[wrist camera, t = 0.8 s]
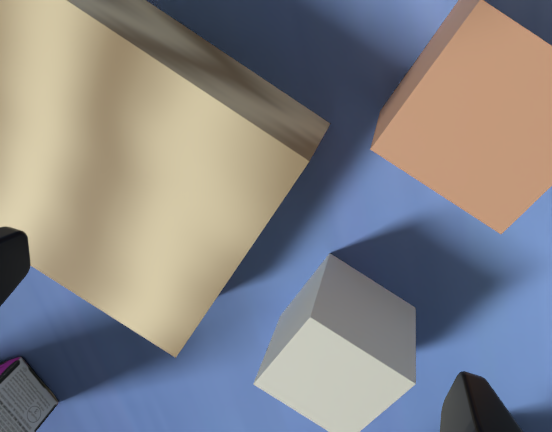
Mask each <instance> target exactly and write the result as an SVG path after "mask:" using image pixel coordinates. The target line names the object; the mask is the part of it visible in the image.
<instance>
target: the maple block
mask: <svg viewBox="0 0 552 432" xmlns="http://www.w3.org/2000/svg"><path fill="white" fill-rule="evenodd" d="M329 126H330V123H329V122H327V121H326V120H324V119H323V118H321V117H320V116H318V115H317V114H315V113H314V112H312V111H311V110H309V109H308V108H306V107H305V106H303V105H302V104H300V103H299V102H297V101H296V100H294V99H293V98H291V97H290V96H288V95H287V94H285V93H284V92H282V91H281V90H279V89H278V88H276V87H275V86H273V85H272V84H270V83H269V82H267V81H266V80H264V79H263V78H261V77H260V76H258V75H257V74H255V73H254V72H252V71H251V70H249V69H248V68H246V67H245V66H243V65H242V64H240V63H239V62H237V61H236V60H234V59H233V58H231V57H230V56H228V55H227V54H225V53H224V52H222V51H221V50H219V49H218V48H216V47H215V46H214V45H212V44H211V43H209V42H208V41H206V40H205V39H203V38H202V37H200V36H199V35H197V34H196V33H194V32H193V31H191V30H190V29H188V28H187V27H185V26H184V25H182V24H181V23H179V22H178V21H176V20H175V19H173V18H172V17H170V16H169V15H167V14H166V13H164V12H163V11H161V10H160V9H158V8H157V7H155V6H154V5H152V4H151V3H149V2H148V1H146V0H0V227H5V226H8V227H12V228H15V229H18V230H21V231H24V232H25V233H26V235H27V236H28V243H29V252H30V262H31V264H30V265H31V266H32V267H34V268H35V269H37V270H39V271H40V272H42V273H43V274H45V275H46V276H48V277H50V278H51V279H53V280H54V281H56V282H57V283H59V284H61V285H62V286H64V287H65V288H67V289H68V290H70V291H72V292H73V293H75V294H76V295H78V296H79V297H81V298H83V299H84V300H86V301H87V302H89V303H90V304H92V305H94V306H95V307H97V308H98V309H100V310H101V311H103V312H105V313H106V314H108V315H109V316H111V317H112V318H114V319H116V320H117V321H119V322H120V323H122V324H123V325H125V326H127V327H128V328H130V329H131V330H133V331H134V332H136V333H138V334H139V335H141V336H142V337H144V338H145V339H147V340H149V341H150V342H152V343H153V344H155V345H156V346H158V347H160V348H161V349H163V350H164V351H166V352H167V353H169V354H171V355H172V356H174V357H175V358H176V357H177V355H178V354H179V352H180V351H181V349H182V348H183V346H184V345H185V343H186V342H187V340H188V339H189V338H190V336H191V335H192V333H193V332H194V330H195V329H196V327H197V326H198V324H199V323H200V321H201V320H202V318H203V317H204V315H205V314H206V313H207V311H208V310H209V308H210V307H211V305H212V304H213V302H214V301H215V299H216V298H217V296H218V295H219V293H220V292H221V291H222V289H223V288H224V286H225V285H226V283H227V282H228V280H229V279H230V277H231V276H232V274H233V273H234V271H235V270H236V268H237V267H238V266H239V264H240V263H241V261H242V260H243V258H244V257H245V255H246V254H247V252H248V251H249V249H250V248H251V246H252V245H253V244H254V242H255V241H256V239H257V238H258V236H259V235H260V233H261V232H262V230H263V229H264V227H265V226H266V224H267V223H268V222H269V220H270V219H271V217H272V216H273V214H274V213H275V211H276V210H277V208H278V207H279V205H280V204H281V202H282V201H283V199H284V198H285V197H286V195H287V194H288V192H289V191H290V189H291V188H292V186H293V185H294V183H295V182H296V180H297V179H298V177H299V176H300V175H301V173H302V172H303V170H304V169H305V167H306V166H307V164H308V163H309V161H310V160H311V158H312V156H313V154H314V152H315V151H316V149H317V147H318V145H319V143H320V142H321V140H322V138H323V136H324V134H325V133H326V131H327V129H328V127H329Z"/></svg>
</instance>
